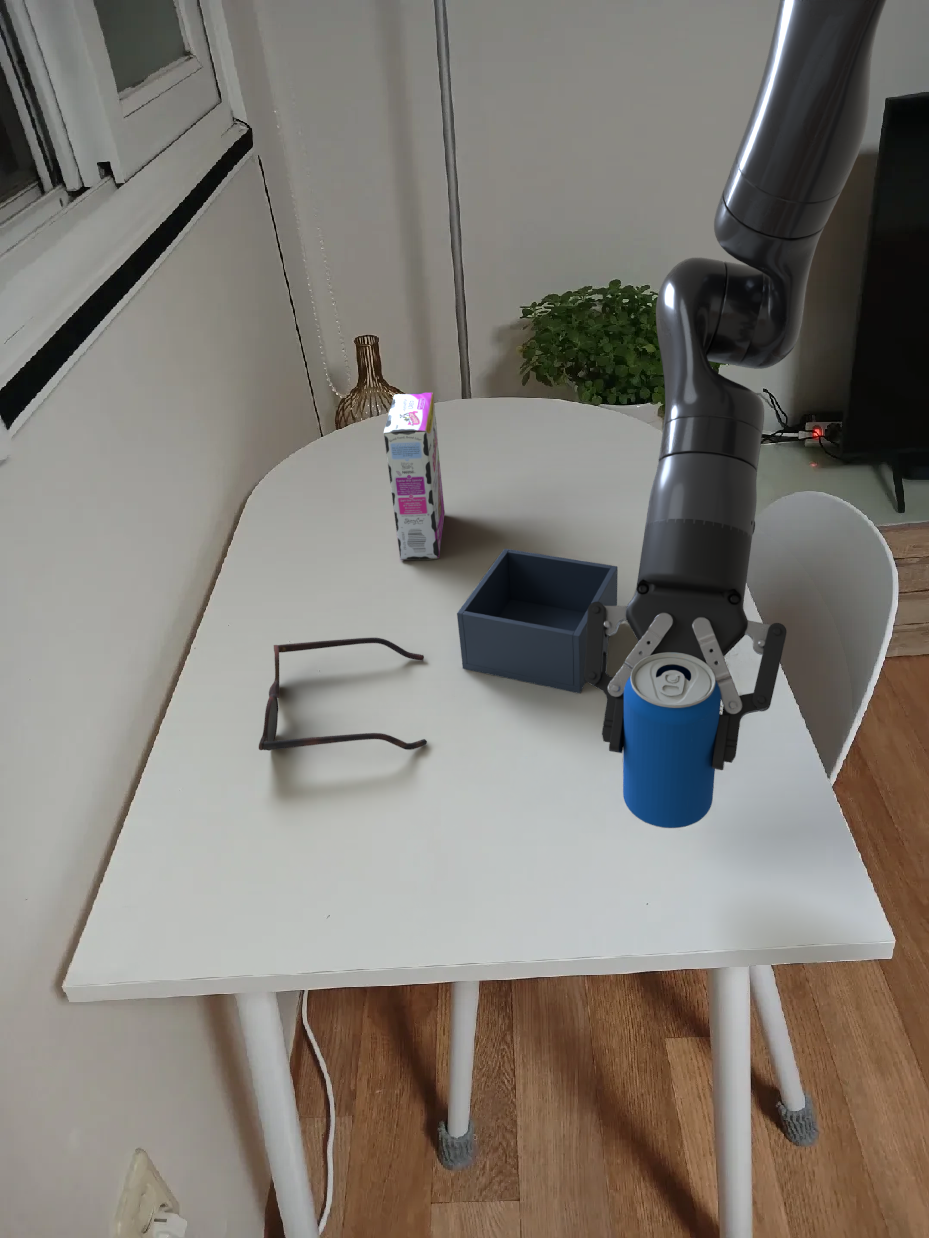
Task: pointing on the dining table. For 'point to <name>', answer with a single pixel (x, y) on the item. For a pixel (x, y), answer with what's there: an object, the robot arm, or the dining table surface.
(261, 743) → the eyeglasses
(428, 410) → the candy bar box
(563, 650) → the bin
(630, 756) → the beverage can
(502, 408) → the dining table surface
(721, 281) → the robot arm
